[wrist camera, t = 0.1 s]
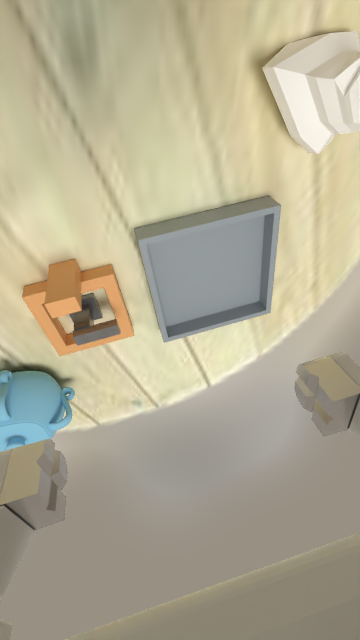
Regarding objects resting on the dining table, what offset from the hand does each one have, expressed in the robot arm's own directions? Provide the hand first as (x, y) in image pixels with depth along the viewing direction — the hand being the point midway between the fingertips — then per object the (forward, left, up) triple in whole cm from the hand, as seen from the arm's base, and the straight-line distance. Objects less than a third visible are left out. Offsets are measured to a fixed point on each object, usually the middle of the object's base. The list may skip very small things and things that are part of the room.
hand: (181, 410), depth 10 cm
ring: (+22, -11, -39) cm, 46 cm away
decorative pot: (+40, -29, -39) cm, 63 cm away
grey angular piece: (+24, -9, -39) cm, 46 cm away
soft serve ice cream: (-1, +28, -39) cm, 48 cm away
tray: (+23, +12, -39) cm, 47 cm away
